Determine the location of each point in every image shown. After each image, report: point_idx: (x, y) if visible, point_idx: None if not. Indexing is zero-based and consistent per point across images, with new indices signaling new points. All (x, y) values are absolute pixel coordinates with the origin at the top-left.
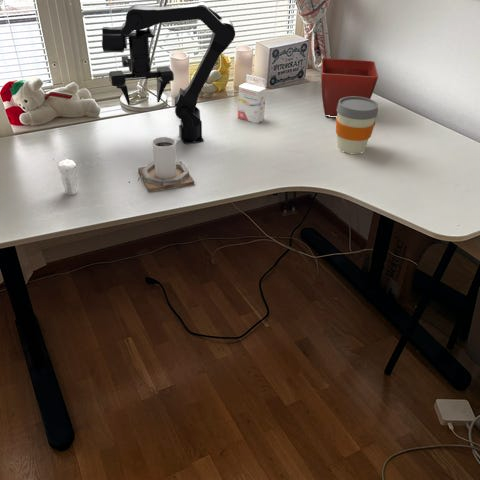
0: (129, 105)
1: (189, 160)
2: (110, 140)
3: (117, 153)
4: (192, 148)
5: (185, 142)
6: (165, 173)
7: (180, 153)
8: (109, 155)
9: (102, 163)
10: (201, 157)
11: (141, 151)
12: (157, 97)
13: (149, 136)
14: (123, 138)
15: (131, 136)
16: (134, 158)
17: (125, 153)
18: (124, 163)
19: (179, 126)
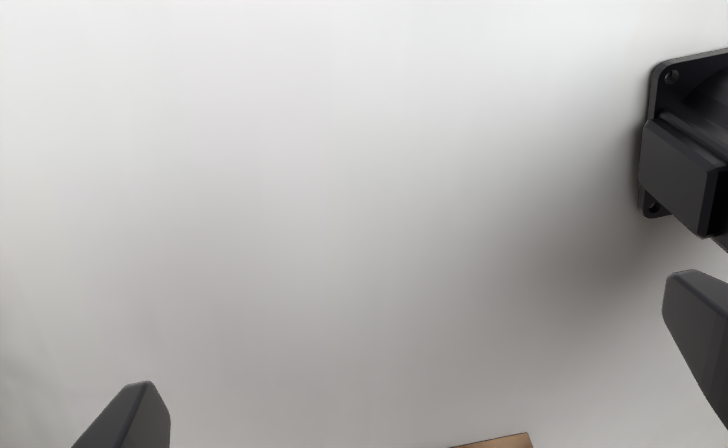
0: (165, 417)
1: (581, 398)
2: (3, 93)
3: (135, 316)
4: (658, 273)
5: (647, 217)
6: None
7: (559, 329)
8: (82, 339)
9: (67, 421)
10: (658, 372)
11: (307, 297)
12: (719, 377)
13: (383, 37)
14: (126, 59)
15: (202, 17)
16: (263, 375)
17: (194, 318)
18: (207, 422)
19: (702, 189)
